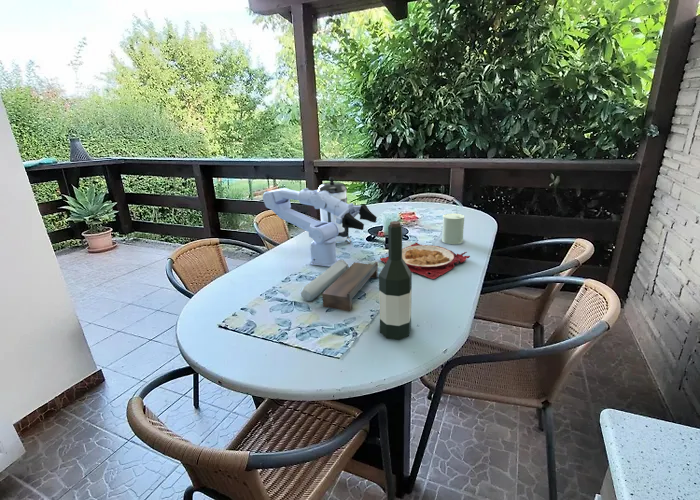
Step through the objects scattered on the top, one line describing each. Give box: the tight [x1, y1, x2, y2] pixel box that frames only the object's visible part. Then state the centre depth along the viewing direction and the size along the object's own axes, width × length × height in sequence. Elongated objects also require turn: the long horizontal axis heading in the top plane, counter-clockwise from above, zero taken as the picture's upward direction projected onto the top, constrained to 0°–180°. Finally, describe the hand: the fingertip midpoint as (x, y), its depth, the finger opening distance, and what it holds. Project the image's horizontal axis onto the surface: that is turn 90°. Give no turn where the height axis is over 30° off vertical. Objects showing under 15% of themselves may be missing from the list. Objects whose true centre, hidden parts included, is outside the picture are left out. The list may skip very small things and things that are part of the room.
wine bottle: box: [378, 220, 413, 341], centre depth 92 cm, size 8×8×30 cm
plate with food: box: [379, 242, 471, 280], centre depth 142 cm, size 24×26×4 cm
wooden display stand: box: [321, 261, 379, 312], centre depth 120 cm, size 9×26×6 cm, turn 157°
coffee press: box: [317, 176, 352, 244], centre depth 162 cm, size 17×16×30 cm
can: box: [441, 212, 466, 245], centre depth 161 cm, size 9×9×12 cm
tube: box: [300, 259, 349, 302], centre depth 124 cm, size 5×5×25 cm
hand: (369, 223), depth 127 cm, fingers open, 7 cm apart
